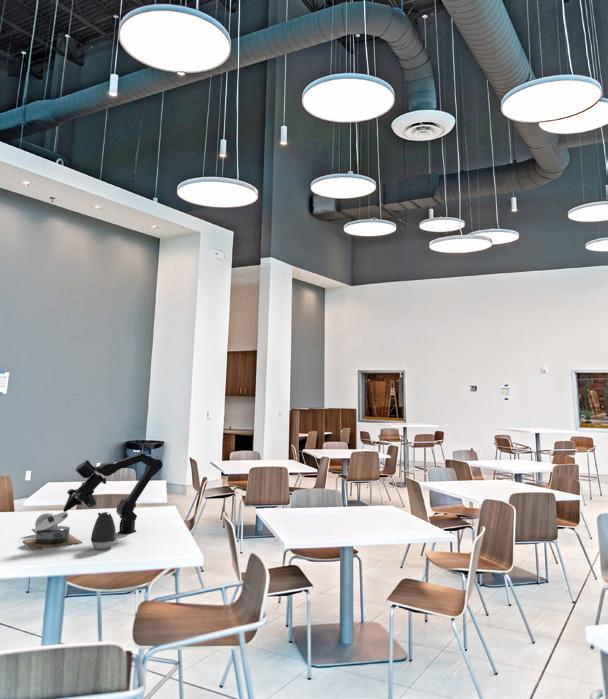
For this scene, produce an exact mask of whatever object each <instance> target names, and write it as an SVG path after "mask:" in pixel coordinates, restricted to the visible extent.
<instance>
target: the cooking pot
mask: <svg viewBox="0 0 608 699" xmlns="http://www.w3.org/2000/svg"><path fill="white" fill-rule="evenodd" d="M70 529H71V528H70V527H69V526H66V525H57V526H53V527H51V528H49V529H46V530H43V531H37V533H35V538H36V542H35V543H36V544H40V545H52V544H59V543H64V542H67V541H68V540H69V534H70Z"/></svg>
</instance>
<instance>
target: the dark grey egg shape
mask: <svg viewBox="0 0 608 699" xmlns="http://www.w3.org/2000/svg"><path fill="white" fill-rule="evenodd" d="M97 515H98V517H97V518H96V520H95V522H94V525H93V528H92V530H91V531H92V532H91V538H90V541H91V545H92V546H93V548H94V549H96V550H98V549H100V551H101V549H104V550H107V549H108V550H109V549H110V548H111V547H113V545H114V544H115V541H116V540H117V533H116V532H117V531H116V525H115V522H114V518H113V516H112V515H111V513H110V512H107V511H104V512H98V513H97Z"/></svg>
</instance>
